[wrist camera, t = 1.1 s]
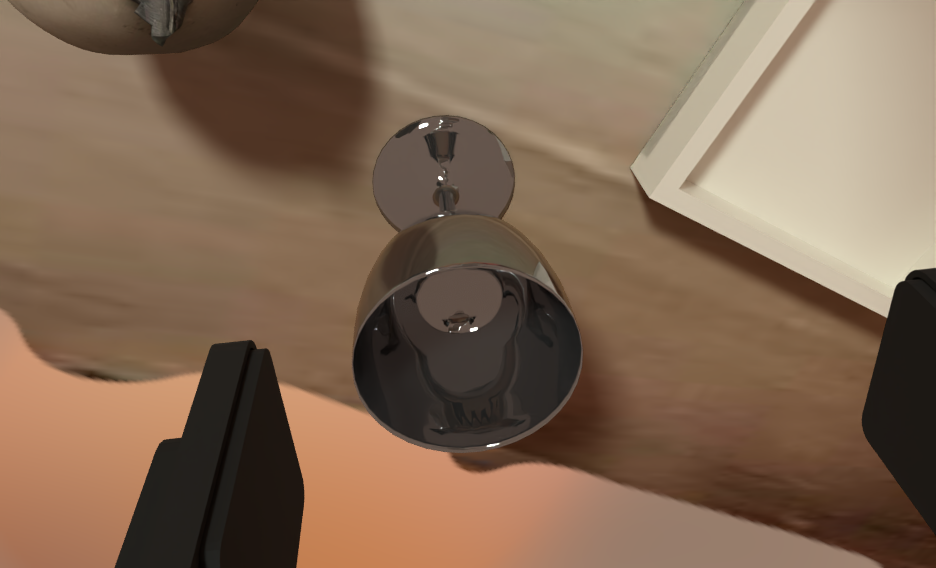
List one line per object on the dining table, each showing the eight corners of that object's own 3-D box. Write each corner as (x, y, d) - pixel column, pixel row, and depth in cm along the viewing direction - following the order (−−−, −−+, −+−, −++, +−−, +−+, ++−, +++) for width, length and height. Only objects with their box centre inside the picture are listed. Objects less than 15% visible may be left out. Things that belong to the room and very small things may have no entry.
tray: (879, -198, 33) (928, -196, 30) (1147, 13, 38) (1210, 31, 35) (630, 167, 40) (648, 197, 37) (883, 298, 46) (917, 333, 43)
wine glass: (554, 159, 40) (630, 332, 27) (466, 276, 43) (498, 481, 30) (418, 75, 37) (432, 224, 24) (335, 207, 40) (308, 400, 27)
